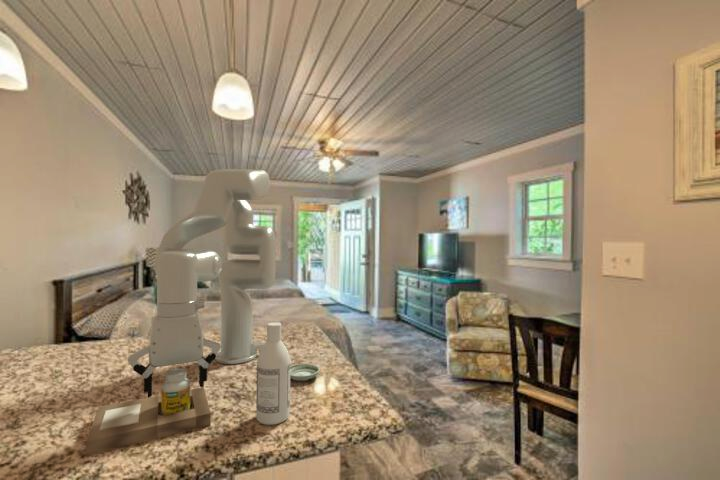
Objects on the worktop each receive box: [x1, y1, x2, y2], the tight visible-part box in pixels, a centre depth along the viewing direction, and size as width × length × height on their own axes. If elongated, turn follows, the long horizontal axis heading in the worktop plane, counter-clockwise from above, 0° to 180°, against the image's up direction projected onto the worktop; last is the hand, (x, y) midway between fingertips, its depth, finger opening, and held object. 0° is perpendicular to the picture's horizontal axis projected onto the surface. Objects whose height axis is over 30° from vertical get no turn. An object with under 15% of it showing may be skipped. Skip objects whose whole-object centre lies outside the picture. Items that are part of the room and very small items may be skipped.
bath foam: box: [255, 322, 291, 426], centre depth 72 cm, size 7×7×20 cm
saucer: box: [290, 363, 321, 382], centre depth 93 cm, size 10×10×2 cm
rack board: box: [85, 386, 212, 457], centre depth 70 cm, size 20×14×3 cm
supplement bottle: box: [160, 368, 191, 416], centre depth 72 cm, size 5×5×10 cm
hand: (176, 389), depth 72 cm, fingers open, 9 cm apart
